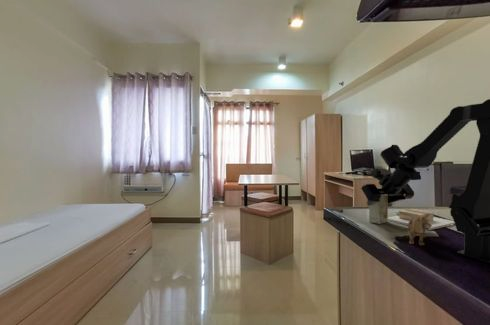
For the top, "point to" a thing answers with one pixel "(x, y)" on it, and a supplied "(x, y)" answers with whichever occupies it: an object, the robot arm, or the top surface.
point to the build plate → (435, 223)
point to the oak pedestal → (413, 212)
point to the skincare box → (379, 210)
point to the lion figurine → (418, 228)
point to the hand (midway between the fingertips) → (376, 204)
